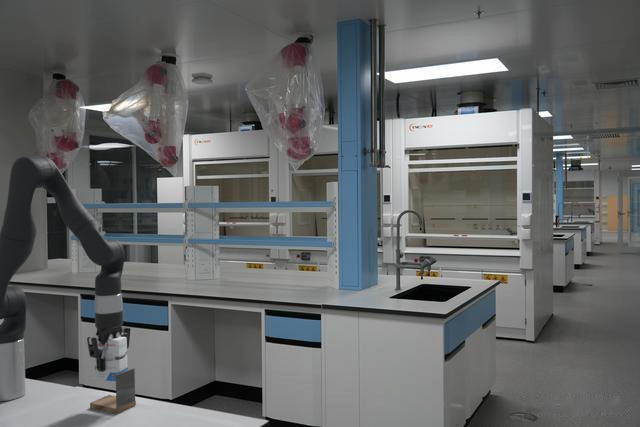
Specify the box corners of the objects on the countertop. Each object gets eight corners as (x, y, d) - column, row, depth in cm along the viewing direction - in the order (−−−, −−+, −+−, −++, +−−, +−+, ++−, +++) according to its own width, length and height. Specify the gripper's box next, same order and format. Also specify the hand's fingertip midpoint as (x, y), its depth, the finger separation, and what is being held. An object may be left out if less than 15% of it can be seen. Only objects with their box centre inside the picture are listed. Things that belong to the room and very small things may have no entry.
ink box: (128, 376, 161) (127, 336, 161) (119, 382, 157) (118, 340, 156) (102, 374, 163) (101, 335, 163) (92, 380, 158) (91, 339, 158)
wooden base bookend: (90, 408, 159) (89, 370, 159) (109, 399, 166) (108, 363, 165) (117, 414, 154) (116, 375, 154) (135, 405, 161) (135, 367, 160)
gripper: (97, 315, 151) (99, 377, 152) (137, 306, 164) (138, 362, 164) (78, 313, 155) (80, 373, 155) (118, 304, 167) (120, 359, 168)
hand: (110, 367), depth 160 cm, fingers closed on ink box, 5 cm apart
